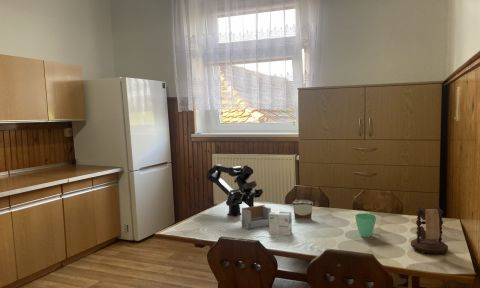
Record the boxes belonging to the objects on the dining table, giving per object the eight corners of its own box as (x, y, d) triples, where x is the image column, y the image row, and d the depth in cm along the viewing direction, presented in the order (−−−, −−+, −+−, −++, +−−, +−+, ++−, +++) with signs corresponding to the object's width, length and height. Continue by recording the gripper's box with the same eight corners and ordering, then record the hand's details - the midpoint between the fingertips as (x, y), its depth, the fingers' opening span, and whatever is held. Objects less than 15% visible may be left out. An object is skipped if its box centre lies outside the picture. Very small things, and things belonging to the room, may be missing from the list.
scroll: (420, 256, 160) (421, 210, 158) (405, 244, 174) (405, 202, 173) (455, 255, 160) (456, 209, 158) (436, 243, 174) (437, 201, 173)
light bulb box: (292, 231, 196) (291, 211, 195) (289, 235, 190) (289, 215, 189) (272, 230, 199) (271, 210, 198) (268, 234, 193) (268, 213, 192)
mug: (373, 240, 181) (374, 219, 180) (353, 237, 186) (353, 217, 185) (379, 231, 193) (379, 212, 192) (359, 228, 198) (359, 210, 197)
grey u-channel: (241, 227, 205) (241, 209, 204) (266, 222, 212) (266, 205, 211) (247, 230, 200) (246, 212, 199) (272, 225, 207) (272, 207, 206)
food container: (312, 216, 223) (312, 199, 222) (313, 219, 217) (313, 202, 216) (291, 216, 224) (291, 199, 223) (292, 219, 218) (292, 202, 217)
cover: (242, 226, 206) (241, 208, 205) (264, 222, 213) (264, 204, 212) (243, 226, 205) (242, 208, 205) (265, 222, 212) (264, 205, 211)
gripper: (232, 178, 211) (242, 201, 202) (261, 174, 219) (271, 197, 211) (226, 189, 219) (235, 212, 210) (254, 185, 227) (264, 207, 219)
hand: (252, 207), depth 212 cm, fingers closed
